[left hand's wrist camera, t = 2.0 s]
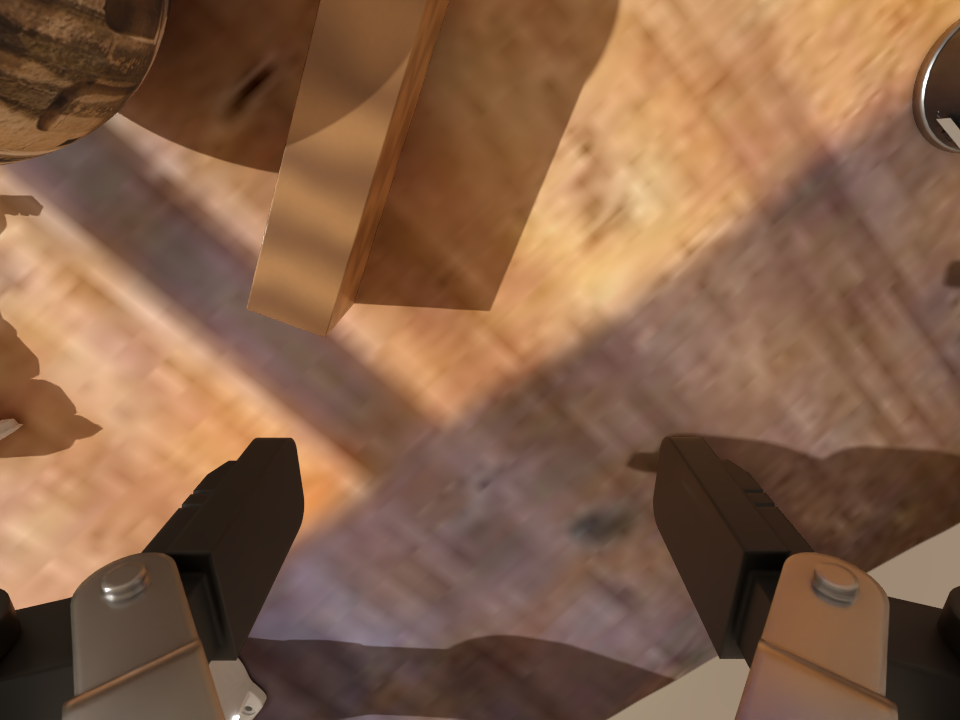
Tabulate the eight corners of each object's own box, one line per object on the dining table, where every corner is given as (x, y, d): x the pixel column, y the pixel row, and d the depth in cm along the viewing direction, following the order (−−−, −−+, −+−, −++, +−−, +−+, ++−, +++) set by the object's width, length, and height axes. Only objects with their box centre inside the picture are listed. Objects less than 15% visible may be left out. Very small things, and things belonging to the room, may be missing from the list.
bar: (377, -54, 34) (347, -115, 26) (454, -17, 35) (447, -67, 27) (289, 280, 43) (245, 309, 35) (353, 303, 43) (325, 337, 35)
